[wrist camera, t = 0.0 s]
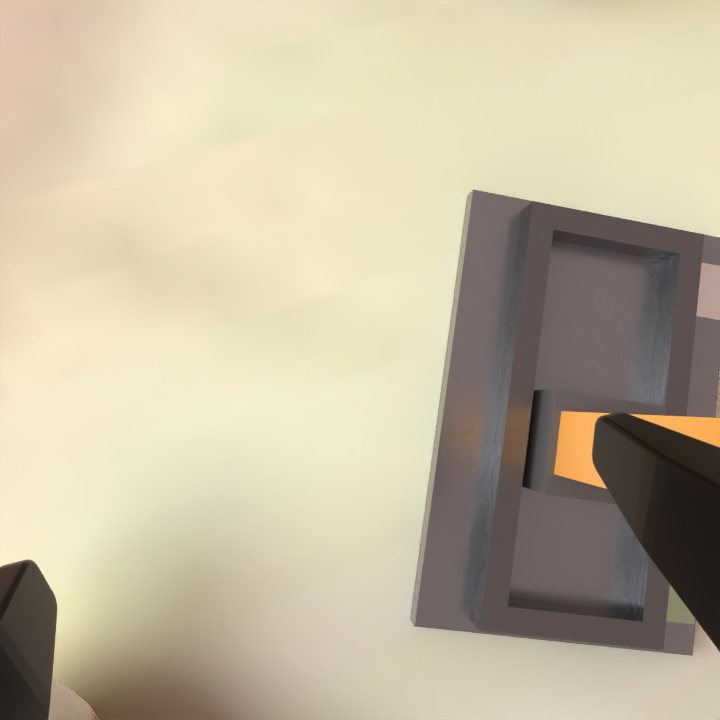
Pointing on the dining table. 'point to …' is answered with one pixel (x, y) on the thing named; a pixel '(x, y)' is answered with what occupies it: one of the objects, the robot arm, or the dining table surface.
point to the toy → (68, 704)
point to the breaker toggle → (587, 440)
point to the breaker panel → (514, 408)
